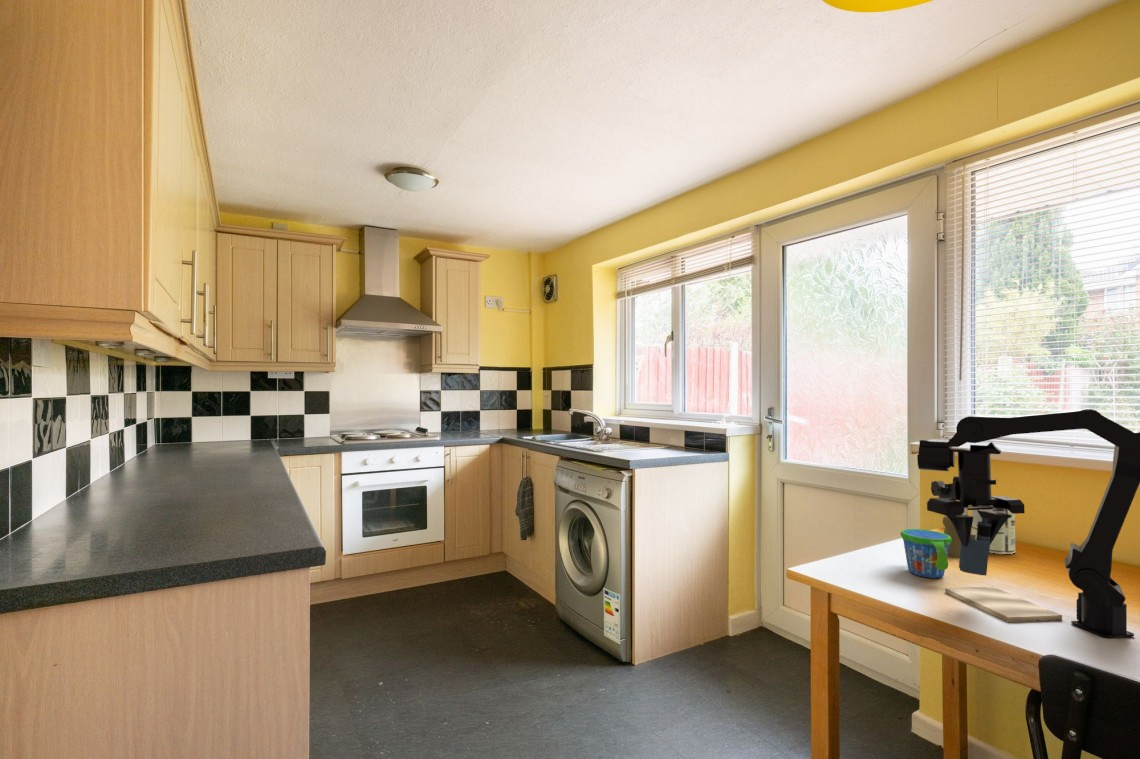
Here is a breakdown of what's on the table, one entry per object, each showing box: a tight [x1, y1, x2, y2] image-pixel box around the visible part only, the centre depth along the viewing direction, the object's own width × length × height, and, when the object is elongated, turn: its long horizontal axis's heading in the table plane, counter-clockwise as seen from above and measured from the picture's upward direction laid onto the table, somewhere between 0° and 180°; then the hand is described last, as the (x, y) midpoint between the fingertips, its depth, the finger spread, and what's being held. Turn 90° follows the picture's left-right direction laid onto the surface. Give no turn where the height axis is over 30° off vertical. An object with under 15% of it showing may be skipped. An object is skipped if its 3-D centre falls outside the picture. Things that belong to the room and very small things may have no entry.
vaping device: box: [958, 518, 991, 576], centre depth 119 cm, size 3×5×12 cm, turn 77°
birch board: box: [944, 586, 1063, 623], centre depth 118 cm, size 16×12×1 cm
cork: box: [942, 515, 961, 559], centre depth 154 cm, size 6×6×11 cm
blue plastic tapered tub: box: [900, 528, 952, 579], centre depth 138 cm, size 16×10×10 cm
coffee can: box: [971, 505, 1016, 555], centre depth 160 cm, size 10×10×14 cm
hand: (975, 545), depth 119 cm, fingers closed on vaping device, 5 cm apart
